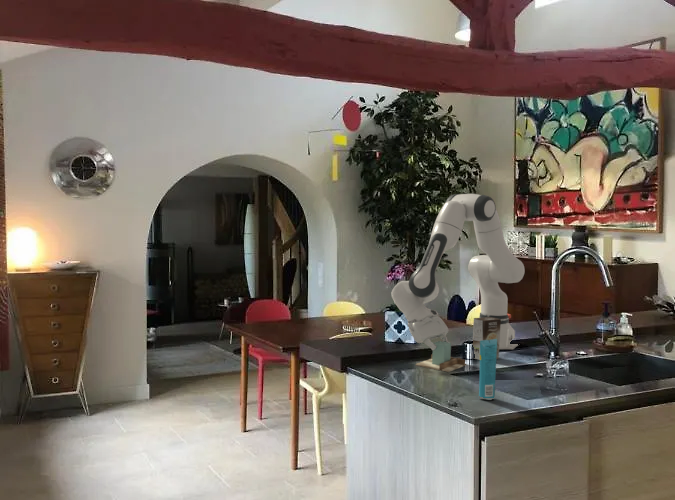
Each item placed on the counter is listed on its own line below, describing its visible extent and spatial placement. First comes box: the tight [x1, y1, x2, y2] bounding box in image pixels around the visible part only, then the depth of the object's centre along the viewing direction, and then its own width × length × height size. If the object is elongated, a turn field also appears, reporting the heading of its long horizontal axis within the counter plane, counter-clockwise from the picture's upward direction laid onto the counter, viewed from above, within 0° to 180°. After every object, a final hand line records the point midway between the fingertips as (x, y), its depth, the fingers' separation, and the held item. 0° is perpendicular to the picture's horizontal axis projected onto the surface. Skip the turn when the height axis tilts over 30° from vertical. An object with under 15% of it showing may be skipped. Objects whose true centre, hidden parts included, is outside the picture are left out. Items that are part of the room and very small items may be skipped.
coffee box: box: [471, 317, 501, 361], centre depth 285 cm, size 9×6×16 cm
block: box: [432, 340, 452, 365], centre depth 271 cm, size 5×5×8 cm
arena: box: [415, 353, 467, 373], centre depth 271 cm, size 14×14×2 cm
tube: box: [478, 339, 497, 398], centre depth 228 cm, size 7×5×19 cm, turn 129°
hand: (441, 347), depth 271 cm, fingers open, 8 cm apart
